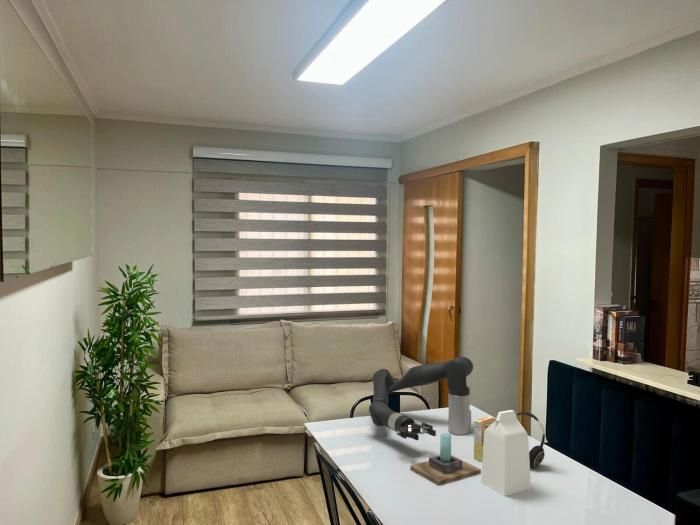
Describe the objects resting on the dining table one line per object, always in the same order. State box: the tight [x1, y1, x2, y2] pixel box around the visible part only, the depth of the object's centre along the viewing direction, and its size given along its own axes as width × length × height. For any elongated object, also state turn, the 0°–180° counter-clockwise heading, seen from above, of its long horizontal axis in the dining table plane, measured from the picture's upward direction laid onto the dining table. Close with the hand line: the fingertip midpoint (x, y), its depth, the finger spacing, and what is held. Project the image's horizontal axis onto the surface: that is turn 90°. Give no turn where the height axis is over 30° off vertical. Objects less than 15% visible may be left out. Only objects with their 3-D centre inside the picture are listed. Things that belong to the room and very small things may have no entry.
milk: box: [480, 409, 532, 497], centre depth 193 cm, size 12×12×26 cm
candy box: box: [473, 416, 496, 463], centre depth 218 cm, size 9×4×15 cm, turn 129°
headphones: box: [515, 411, 546, 468], centre depth 212 cm, size 9×15×20 cm, turn 39°
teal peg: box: [439, 433, 452, 463], centre depth 205 cm, size 4×4×12 cm
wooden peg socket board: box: [409, 454, 482, 486], centre depth 205 cm, size 20×16×4 cm
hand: (426, 435), depth 214 cm, fingers open, 8 cm apart
